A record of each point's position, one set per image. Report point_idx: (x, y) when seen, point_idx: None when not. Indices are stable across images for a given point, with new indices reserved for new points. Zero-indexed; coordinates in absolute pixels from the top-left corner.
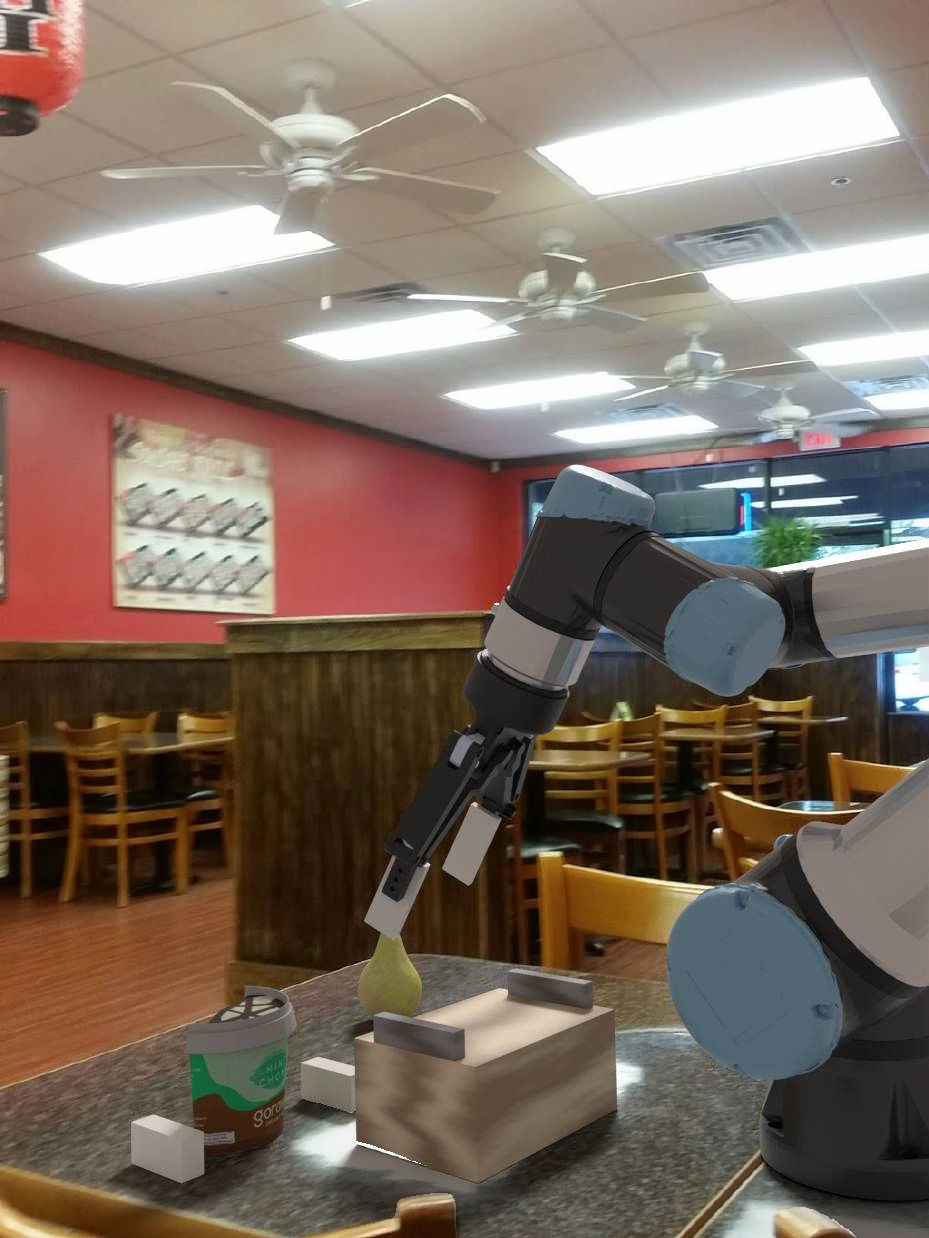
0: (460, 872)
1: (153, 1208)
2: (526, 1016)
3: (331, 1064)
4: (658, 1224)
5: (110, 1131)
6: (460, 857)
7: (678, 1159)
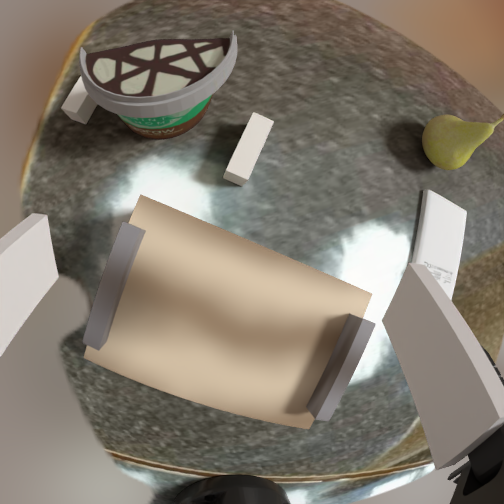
0: (397, 310)
1: (39, 126)
2: (267, 363)
3: (255, 140)
4: (100, 437)
5: (155, 32)
6: (416, 319)
7: (196, 441)
